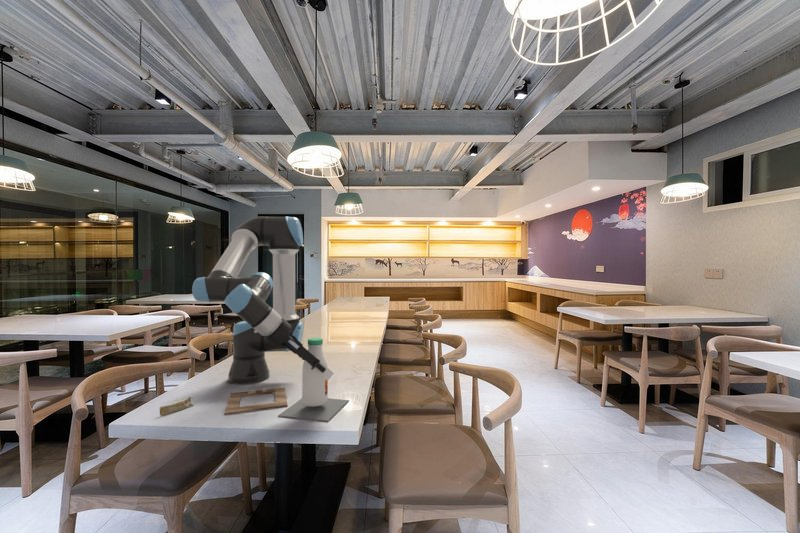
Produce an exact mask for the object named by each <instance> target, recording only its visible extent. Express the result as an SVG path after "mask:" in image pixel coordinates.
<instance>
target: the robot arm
mask: <svg viewBox="0 0 800 533" xmlns="http://www.w3.org/2000/svg"><path fill="white" fill-rule="evenodd" d="M303 233H304V232H303V227H302V223H301V221H300V220H299V218H298V217H295V216H255V217H253V218H250V219H248V220H246V221H244V222H243V223H241V224H240V225H238V227H237V228H236V229H234V231H233V233H232V234H231V241H230V243H229V244H228V246H227V247H226V249H224V252H223V254H222V255H221V256H220V258H219V259H218V261H217V262H216V264H215V266H214V267H213V268H212V270H211V272H210V273H209V274H208V276H206V277H205V276H202V277H197V278H196V279H195V280H194V281H193V284H192V286H191V287H192V288H191V292H192V296H193V298H194V300H195V301H196V302H198V303H199V302H203V303H224V304H225V306H227V307H228V308H229V309H230V310H231V311H232V313H234V314H236V315H237V316H238V317H240V319H242V320H243V321H239V322H236V323H235V324H234V325H233V328H232V329H233V330H232V363H231V366H230V369H229V373H228V374H227V376H228V377H227V381H228V382H229V383H230V384H233V385H234V384H235V385H248V384H255V383H258V382H263V381H265V380H268V378H269V377H270V369H269V367H268V363H267V359H266V354H265V353H267V352H268V353H270V352H273V353H274V352H286V353H287V352H292V353H294V354H296V355H297V356H298V357H299V358H301V360H302V361H304V360H305V361H307V362H308V363H309V364H310V365H311V366H312V368H311V369H312V370H313V369H315V370H316V371H317V372H318V373H320V374H321V375H322V376H323V377H324V378H325V379H326V380H328V381H329V380H330V379H331V378H332V376H333V375H334V373H335V372H333V371H332V370H331V369H330V368H328V366H327V367H326V366H325V365H324V364H323V363H321V362H320V360H319V359H317V358H316V357H315V356H314V355H312V354H311V353H310V352H309V351H308V349H307V348H305V347H304V346H303V343H302V341H303V335H304V328H305V327H304V322H302V321H300V316H299V315H298V314H296V254H297V253H298V252H299V251H300V247H302V246H303V245H304V234H303ZM260 246H264V247H265V246H266V247H267V246H268V251H269V252H270V253H271V254H272V276H270V275H269V274H268V273H266V272H262V271H259V272H258V271H257V272H254V273H253V274H252V275H250V276H245V277H243V276H242V277H241V276H239V274H240V272H241V270H242V269H243V267H244V265H245V263H246V261H247V259H248V257H249V256H250V255H251V252H252V251H254V250H255V249H256V248H257V247H260ZM238 276H239V277H238ZM271 293H272V307H271V306H270V305H269V304H267V299H268V298H269V296H270V295H271Z"/></svg>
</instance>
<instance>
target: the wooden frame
mask: <svg viewBox="0 0 800 533" xmlns="http://www.w3.org/2000/svg"><path fill="white" fill-rule="evenodd" d="M269 394H274V399H275V402H273V401H272V402H266V403H260V404H252V405H244V406H240V402H241V398H244V397H250V396H252V397H253V396H259V395H269ZM226 404H227V405H226V408H225V412H224V415H225V416H228V415H234V414H242V413H248V412H256V411H258V412H259V411H263V410H271V409H278V408H284V407H285V408H286V407H288V400H287V393H286V387H285V386H282V387H281V386H280V387H271V388H263V389H255V390H253V389H252V390H247V391H238V392H237V391H236V392H230V394H229V397H228V400H227V403H226ZM227 414H228V415H227Z"/></svg>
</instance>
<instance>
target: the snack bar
mask: <svg viewBox="0 0 800 533" xmlns="http://www.w3.org/2000/svg"><path fill="white" fill-rule="evenodd" d="M190 407H191V408H192V407H194V404H193V401H192V400H191V396H190V397H188V398H184V399H182V400H179V401H176V402H171V403H169V404H166V405H162V406H160V407H159V416H160V417H161V416H162V417H164V416H167V415H170V414H172V413H176V412H179V411H181V410H185V409H188V408H190Z"/></svg>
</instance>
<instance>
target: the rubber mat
mask: <svg viewBox="0 0 800 533" xmlns="http://www.w3.org/2000/svg"><path fill="white" fill-rule="evenodd" d="M349 402H350V400H349V399H339V398H329V397H328V399H327V402H326V403H325V404H323V405H320V406H315V407H310V406H305V405H304V404H303V402H302V398H300V399H299V400H297V401H296V402H294V403H293V404H292V405H291V406H289V407H288V408H287V409H285V410H284V411H282V412H281V413H280V414H278V415H277V416H278V418H280V417H281V418H288V419H298V420H305V421H306V420H307V421H313V422H314V421H316V422H325V423H329V422H330V420H332V419H333V418H334V417H335V416H336V415H337V414H338V413H339V412H340V411H341V410H342V409H343V408H344V407H345V406H346V405H347V404H348V403H349Z"/></svg>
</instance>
